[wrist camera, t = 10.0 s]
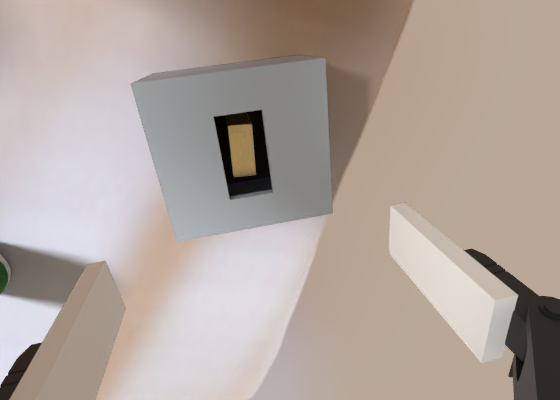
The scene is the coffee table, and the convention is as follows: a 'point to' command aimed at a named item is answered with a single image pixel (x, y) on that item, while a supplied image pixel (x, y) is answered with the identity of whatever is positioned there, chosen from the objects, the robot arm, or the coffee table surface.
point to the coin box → (206, 151)
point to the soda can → (4, 273)
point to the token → (241, 144)
